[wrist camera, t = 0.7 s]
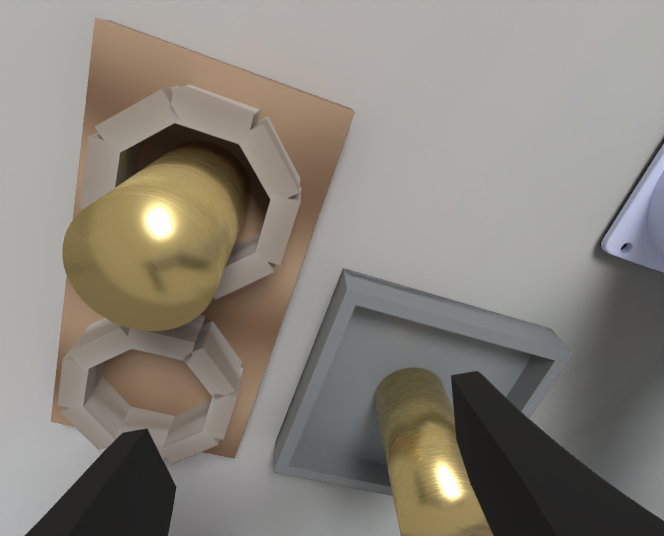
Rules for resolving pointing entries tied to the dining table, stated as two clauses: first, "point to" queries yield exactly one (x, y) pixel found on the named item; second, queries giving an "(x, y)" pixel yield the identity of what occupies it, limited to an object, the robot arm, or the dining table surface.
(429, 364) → the grey square tray
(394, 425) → the cylinder
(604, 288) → the dining table surface
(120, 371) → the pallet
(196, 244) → the cylinder
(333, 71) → the dining table surface
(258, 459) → the dining table surface
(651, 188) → the robot arm
